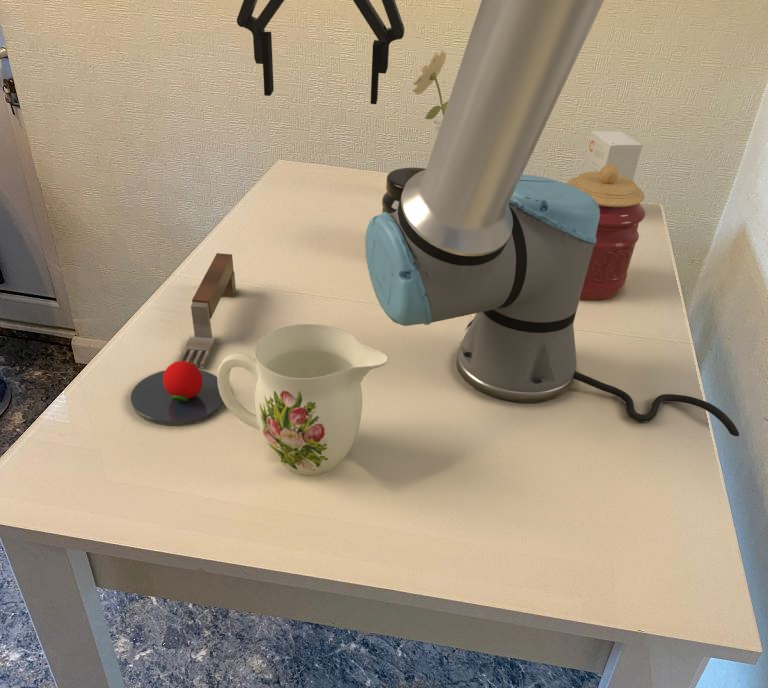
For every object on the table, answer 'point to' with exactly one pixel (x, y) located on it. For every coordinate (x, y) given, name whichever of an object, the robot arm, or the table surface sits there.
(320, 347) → the pitcher
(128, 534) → the table surface
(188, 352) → the fork
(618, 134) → the small box
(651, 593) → the table surface
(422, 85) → the flower in vase
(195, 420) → the plate
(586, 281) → the kitchen canister
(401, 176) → the supplement container
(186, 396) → the tomato
